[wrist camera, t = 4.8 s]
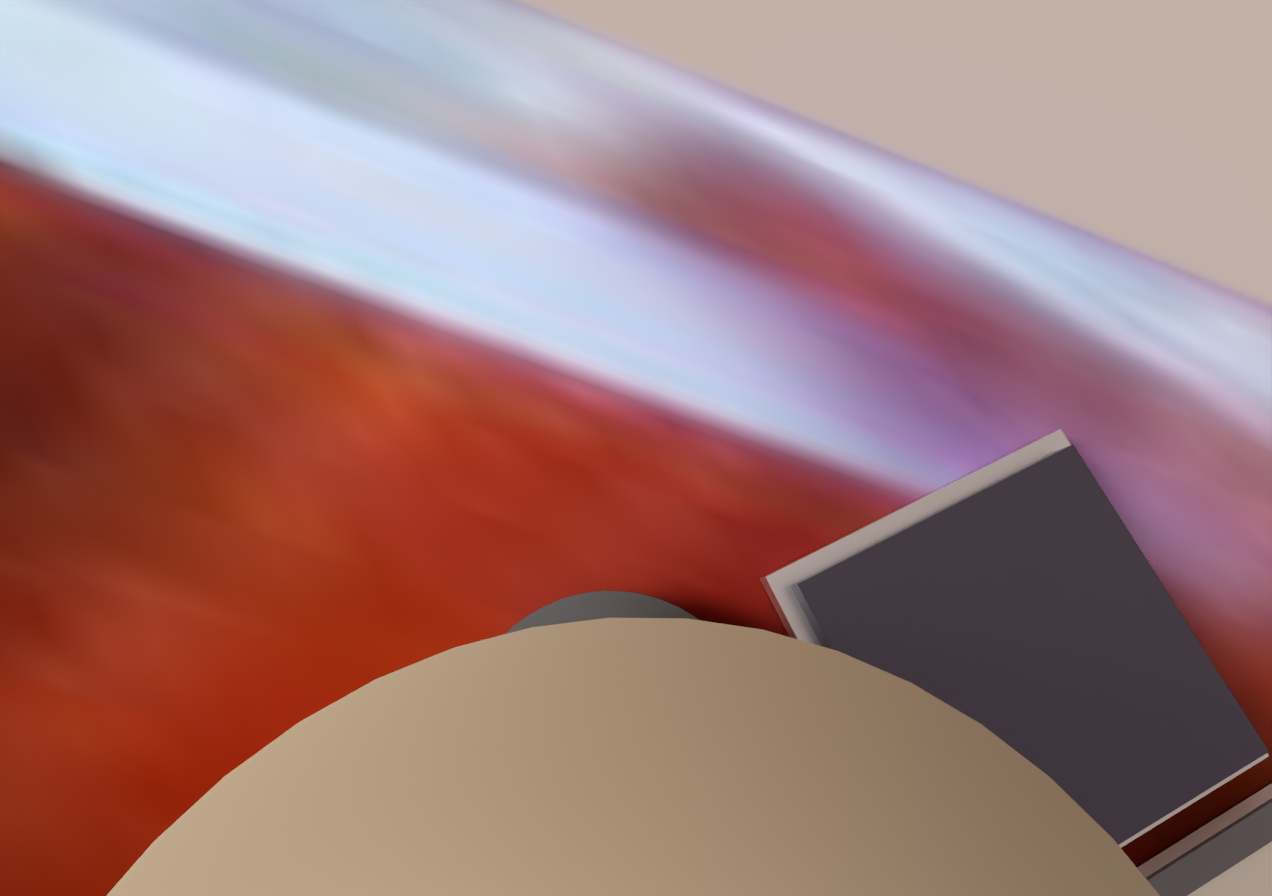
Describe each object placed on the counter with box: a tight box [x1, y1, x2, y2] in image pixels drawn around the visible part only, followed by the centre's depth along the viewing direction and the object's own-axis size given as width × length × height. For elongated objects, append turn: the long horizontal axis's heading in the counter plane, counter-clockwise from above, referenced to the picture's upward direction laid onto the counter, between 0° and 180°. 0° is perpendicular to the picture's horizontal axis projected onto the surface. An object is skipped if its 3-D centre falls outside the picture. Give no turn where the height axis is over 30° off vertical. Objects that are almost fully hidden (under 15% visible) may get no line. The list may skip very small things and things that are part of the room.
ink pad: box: [760, 429, 1269, 848], centre depth 15 cm, size 8×8×1 cm
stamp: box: [106, 591, 1160, 896], centre depth 8 cm, size 6×6×13 cm
